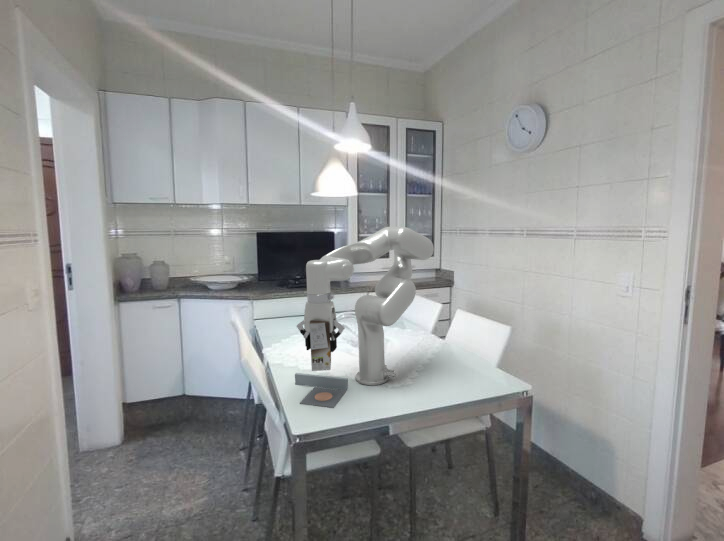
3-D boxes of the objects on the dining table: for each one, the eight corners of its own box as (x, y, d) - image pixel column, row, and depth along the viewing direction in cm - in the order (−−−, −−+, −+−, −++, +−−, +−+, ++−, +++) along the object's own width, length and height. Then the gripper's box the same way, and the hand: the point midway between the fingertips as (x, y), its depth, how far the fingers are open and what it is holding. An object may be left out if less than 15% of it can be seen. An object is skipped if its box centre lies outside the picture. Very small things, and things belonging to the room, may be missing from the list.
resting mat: (346, 391, 135) (346, 390, 135) (333, 408, 123) (333, 406, 123) (314, 387, 138) (314, 386, 138) (299, 403, 127) (299, 402, 127)
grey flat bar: (348, 388, 137) (347, 378, 136) (346, 390, 136) (346, 379, 135) (296, 383, 143) (296, 372, 142) (295, 384, 141) (294, 374, 141)
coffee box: (331, 370, 125) (329, 322, 123) (311, 371, 124) (309, 323, 122) (331, 360, 134) (329, 314, 132) (312, 361, 133) (310, 315, 131)
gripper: (348, 296, 127) (349, 348, 129) (299, 294, 132) (302, 344, 134) (340, 301, 120) (341, 356, 122) (289, 299, 125) (292, 351, 127)
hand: (321, 349), depth 128 cm, fingers closed on coffee box, 8 cm apart
